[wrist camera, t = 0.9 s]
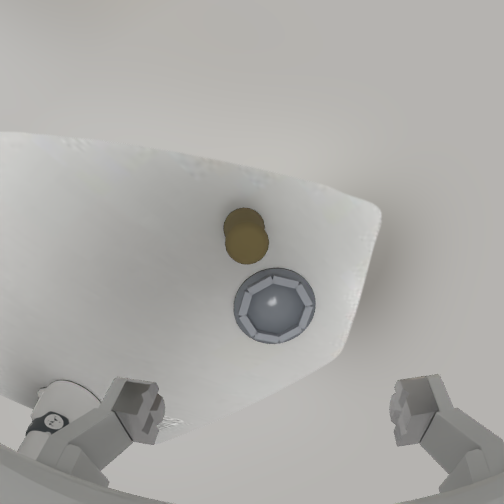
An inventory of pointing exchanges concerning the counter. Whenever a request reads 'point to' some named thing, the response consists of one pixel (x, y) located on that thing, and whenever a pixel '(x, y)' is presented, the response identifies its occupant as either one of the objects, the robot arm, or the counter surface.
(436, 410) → the robot arm
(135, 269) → the counter surface
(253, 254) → the olive brown pepper mill
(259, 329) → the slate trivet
